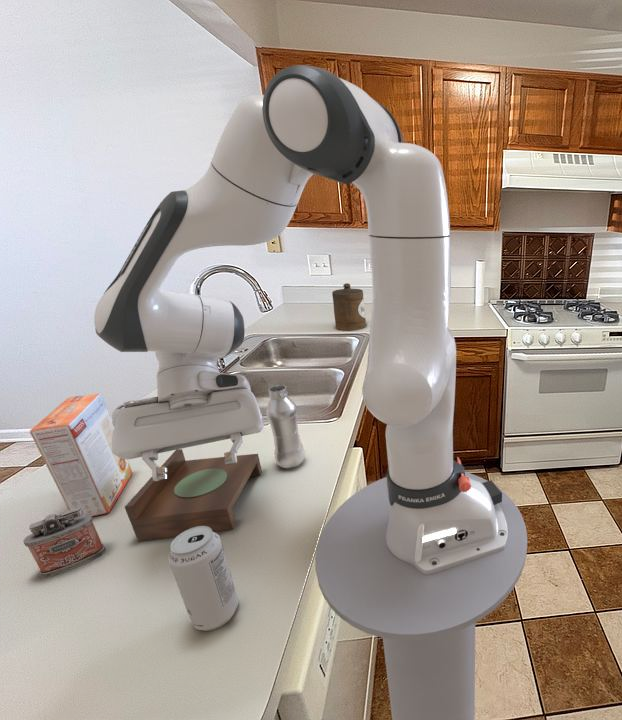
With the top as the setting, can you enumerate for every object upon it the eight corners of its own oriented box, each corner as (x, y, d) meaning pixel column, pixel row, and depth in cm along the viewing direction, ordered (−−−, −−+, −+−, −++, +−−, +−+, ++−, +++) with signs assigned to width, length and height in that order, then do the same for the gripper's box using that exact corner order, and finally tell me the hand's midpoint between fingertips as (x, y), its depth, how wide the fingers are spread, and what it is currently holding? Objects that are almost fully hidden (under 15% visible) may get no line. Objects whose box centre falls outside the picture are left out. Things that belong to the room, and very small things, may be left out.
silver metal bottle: (296, 452, 99) (282, 379, 92) (312, 462, 96) (299, 387, 88) (271, 465, 94) (254, 389, 87) (286, 475, 91) (270, 397, 83)
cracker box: (100, 479, 89) (66, 396, 81) (134, 473, 91) (103, 391, 83) (70, 523, 77) (26, 429, 69) (109, 514, 79) (71, 423, 71)
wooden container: (369, 328, 200) (365, 284, 192) (339, 332, 193) (333, 287, 185) (362, 321, 212) (357, 280, 204) (333, 324, 205) (327, 282, 197)
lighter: (40, 581, 65) (14, 534, 61) (42, 568, 67) (18, 522, 64) (106, 555, 70) (85, 510, 66) (106, 543, 72) (86, 499, 69)
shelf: (262, 471, 92) (255, 442, 89) (233, 529, 76) (223, 495, 73) (185, 479, 89) (176, 449, 86) (137, 541, 73) (124, 507, 70)
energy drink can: (200, 602, 62) (174, 528, 56) (243, 591, 64) (222, 518, 58) (187, 640, 56) (156, 561, 51) (234, 627, 58) (210, 550, 53)
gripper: (102, 397, 60) (102, 487, 56) (254, 374, 69) (265, 450, 65) (120, 410, 66) (122, 493, 61) (259, 387, 74) (269, 459, 70)
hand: (197, 471), depth 63 cm, fingers open, 8 cm apart
